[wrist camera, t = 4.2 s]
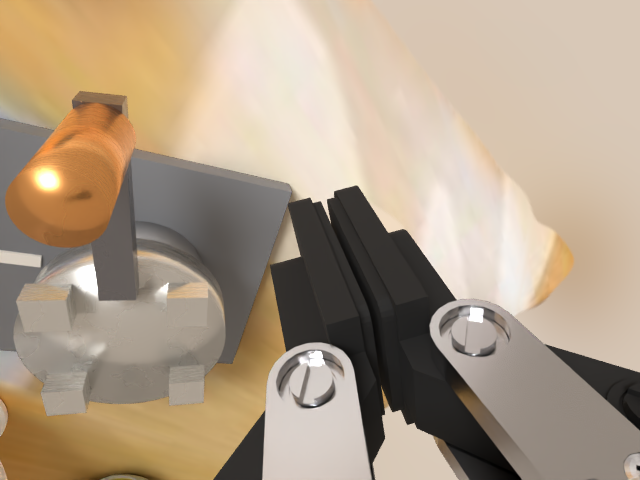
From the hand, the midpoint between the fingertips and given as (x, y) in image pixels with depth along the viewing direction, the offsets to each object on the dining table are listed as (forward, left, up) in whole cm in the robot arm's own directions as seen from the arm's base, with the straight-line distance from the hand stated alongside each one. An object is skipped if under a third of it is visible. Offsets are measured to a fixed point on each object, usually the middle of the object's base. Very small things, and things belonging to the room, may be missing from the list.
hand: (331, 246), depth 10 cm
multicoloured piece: (+14, -5, -17) cm, 22 cm away
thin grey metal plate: (+18, -4, -23) cm, 30 cm away
